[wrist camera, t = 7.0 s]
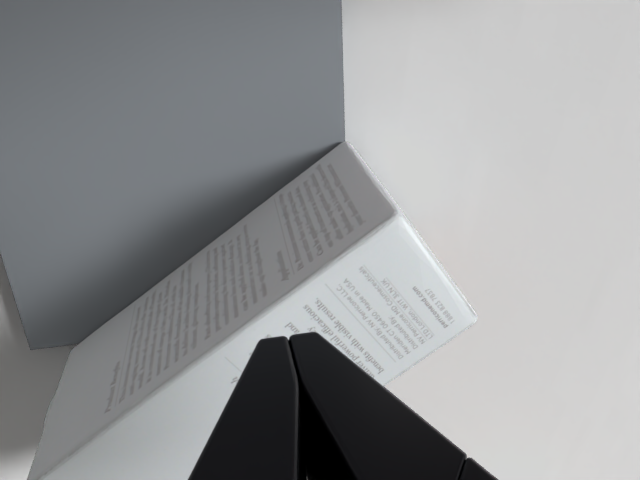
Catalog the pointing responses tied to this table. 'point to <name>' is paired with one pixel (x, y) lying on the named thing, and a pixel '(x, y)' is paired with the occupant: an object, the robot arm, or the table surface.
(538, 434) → the table surface
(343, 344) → the skincare box
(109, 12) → the mat
